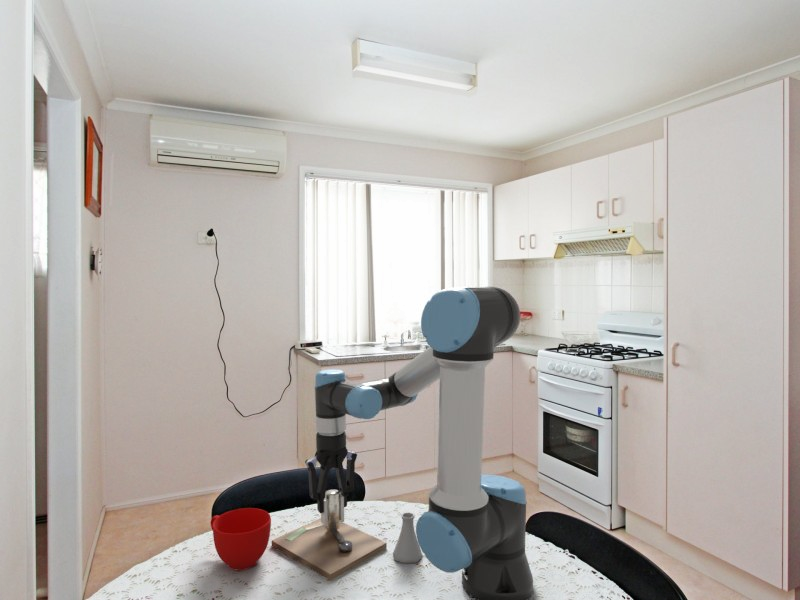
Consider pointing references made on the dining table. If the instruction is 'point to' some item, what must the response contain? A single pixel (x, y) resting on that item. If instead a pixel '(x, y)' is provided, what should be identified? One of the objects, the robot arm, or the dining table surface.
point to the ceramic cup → (241, 536)
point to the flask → (407, 542)
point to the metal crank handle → (336, 519)
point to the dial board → (328, 548)
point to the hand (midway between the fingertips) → (332, 521)
